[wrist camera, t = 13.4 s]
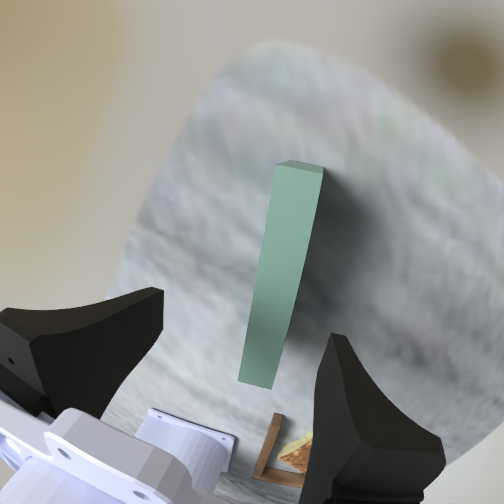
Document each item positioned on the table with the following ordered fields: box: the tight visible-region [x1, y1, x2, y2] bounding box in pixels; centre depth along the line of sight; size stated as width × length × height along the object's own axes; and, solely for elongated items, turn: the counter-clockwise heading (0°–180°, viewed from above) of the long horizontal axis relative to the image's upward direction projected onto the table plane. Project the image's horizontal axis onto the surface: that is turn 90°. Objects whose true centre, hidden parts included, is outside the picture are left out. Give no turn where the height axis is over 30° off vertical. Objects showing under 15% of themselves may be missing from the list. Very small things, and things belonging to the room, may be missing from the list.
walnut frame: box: [252, 413, 305, 488], centre depth 25 cm, size 16×11×2 cm
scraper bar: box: [238, 160, 323, 389], centre depth 18 cm, size 12×2×6 cm, turn 171°
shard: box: [278, 430, 313, 474], centre depth 25 cm, size 11×8×2 cm
